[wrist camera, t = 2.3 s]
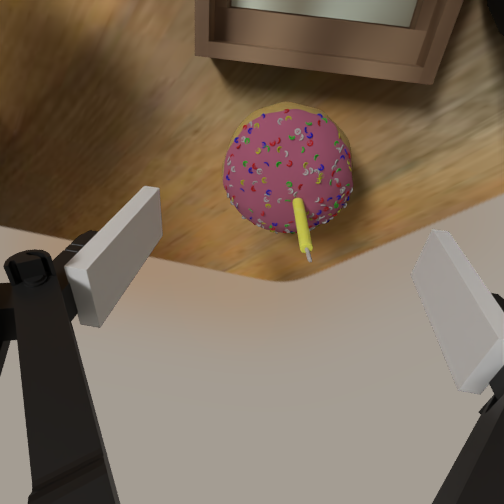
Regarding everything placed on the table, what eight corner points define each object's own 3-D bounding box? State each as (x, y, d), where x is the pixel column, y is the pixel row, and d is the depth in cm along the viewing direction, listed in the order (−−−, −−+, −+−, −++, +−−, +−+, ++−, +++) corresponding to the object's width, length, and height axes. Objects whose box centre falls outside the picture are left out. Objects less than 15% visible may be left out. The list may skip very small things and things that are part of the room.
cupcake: (370, 151, 25) (414, 237, 15) (288, 221, 29) (282, 324, 19) (288, 62, 22) (278, 97, 12) (211, 153, 26) (158, 232, 17)
